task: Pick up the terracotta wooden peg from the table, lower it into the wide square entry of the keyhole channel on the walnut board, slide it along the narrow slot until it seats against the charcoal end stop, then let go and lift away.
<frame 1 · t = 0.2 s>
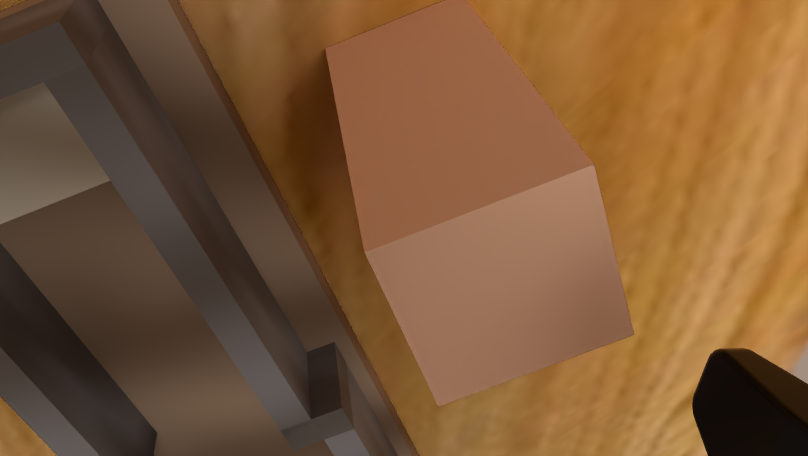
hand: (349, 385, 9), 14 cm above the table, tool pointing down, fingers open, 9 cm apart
peg: (416, 84, 22), on the table
keyhole board: (183, 328, 25), on the table
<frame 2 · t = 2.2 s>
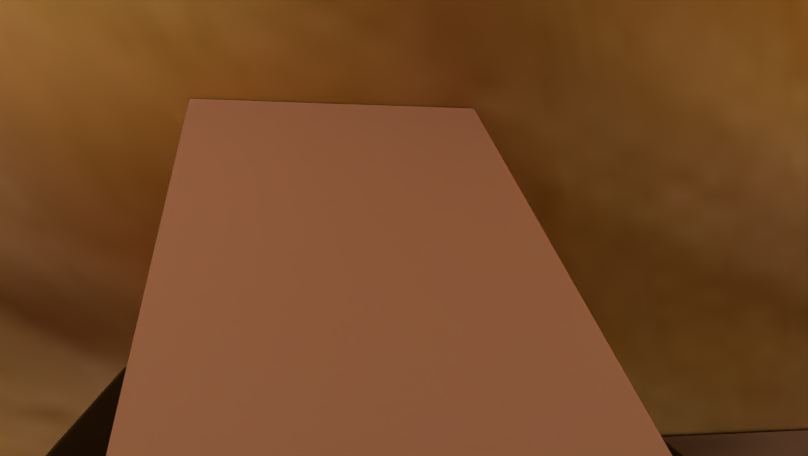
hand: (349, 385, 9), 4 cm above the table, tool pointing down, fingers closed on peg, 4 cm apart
peg: (329, 224, 12), on the table, touching gripper
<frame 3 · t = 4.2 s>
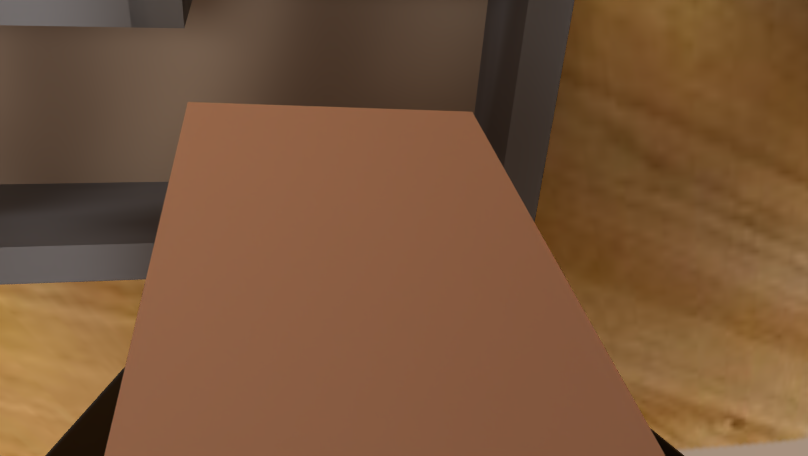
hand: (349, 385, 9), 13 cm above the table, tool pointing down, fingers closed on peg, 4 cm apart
peg: (328, 227, 12), point 9 cm above the table, touching gripper
keyhole board: (83, 76, 19), on the table
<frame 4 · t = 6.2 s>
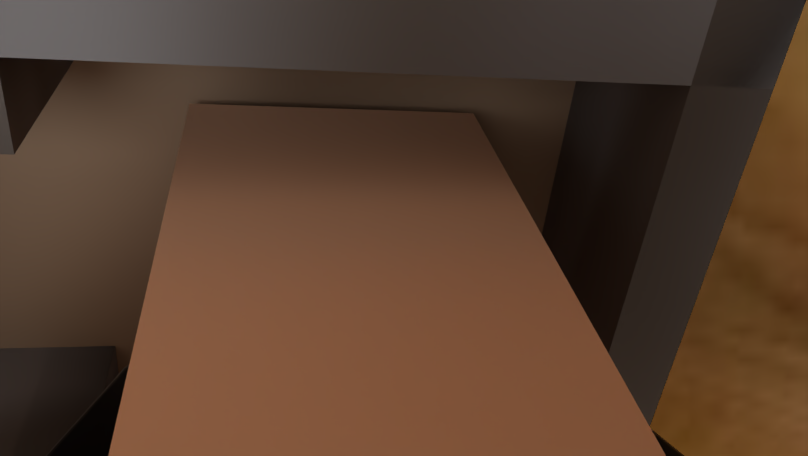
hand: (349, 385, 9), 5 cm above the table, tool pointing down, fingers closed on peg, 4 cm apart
peg: (329, 229, 12), point 1 cm above the table, touching gripper
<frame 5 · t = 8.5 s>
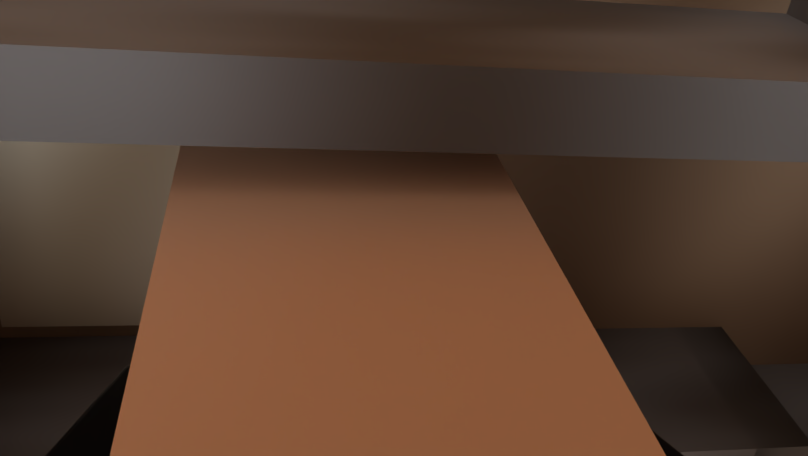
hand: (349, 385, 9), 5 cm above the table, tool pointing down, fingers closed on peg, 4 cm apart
peg: (329, 230, 12), point 1 cm above the table, touching gripper
keyhole board: (585, 184, 14), on the table
when the fingers open (5 cm above the table, at t = 10.5 s): peg stays where it is, resting on keyhole board.
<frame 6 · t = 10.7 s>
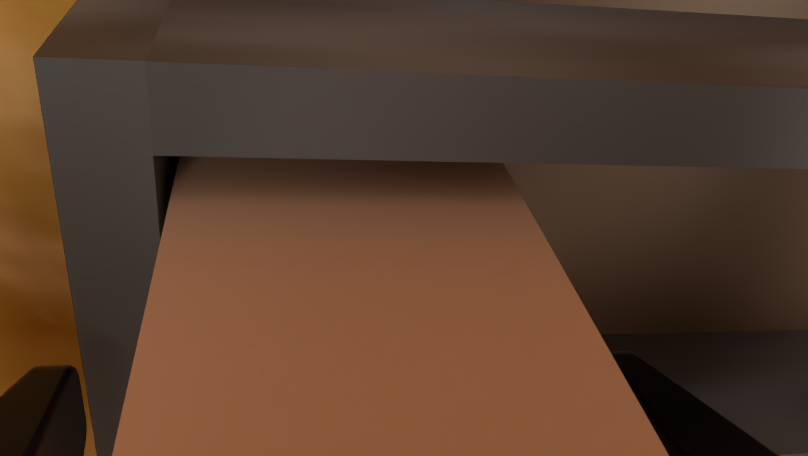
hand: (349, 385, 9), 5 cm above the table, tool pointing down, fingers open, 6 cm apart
peg: (330, 223, 12), point 1 cm above the table, touching keyhole board
keyhole board: (750, 192, 14), on the table
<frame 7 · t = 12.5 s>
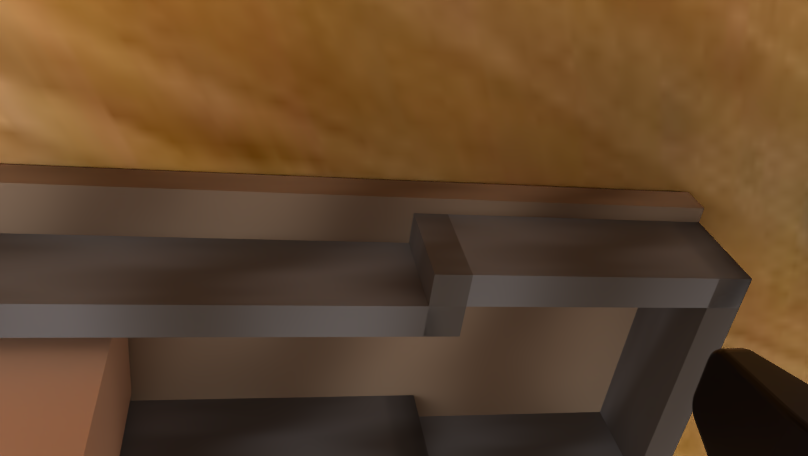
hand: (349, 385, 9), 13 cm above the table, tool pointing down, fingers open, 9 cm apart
peg: (54, 341, 22), point 1 cm above the table, touching keyhole board
keyhole board: (327, 316, 24), on the table
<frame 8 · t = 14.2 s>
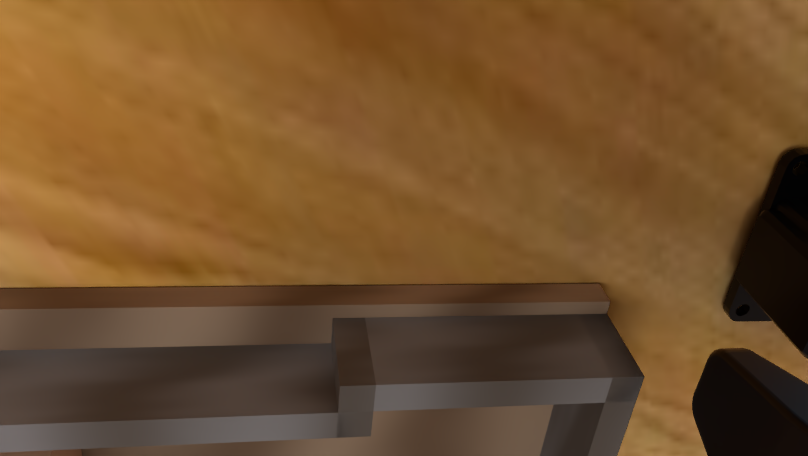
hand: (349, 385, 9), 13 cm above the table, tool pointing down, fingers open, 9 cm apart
peg: (11, 439, 24), point 1 cm above the table, touching keyhole board
keyhole board: (266, 404, 26), on the table
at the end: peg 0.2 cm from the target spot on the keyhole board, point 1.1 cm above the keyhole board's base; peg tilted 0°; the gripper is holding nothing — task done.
